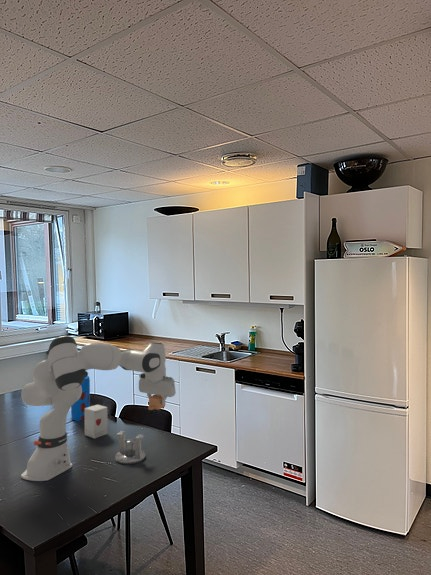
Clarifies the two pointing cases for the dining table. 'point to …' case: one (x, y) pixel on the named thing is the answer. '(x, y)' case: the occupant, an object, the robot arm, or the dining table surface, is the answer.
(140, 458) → the pronged peg stand
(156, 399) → the orange lumpy block
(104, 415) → the supplement box
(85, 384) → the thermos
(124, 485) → the dining table surface
